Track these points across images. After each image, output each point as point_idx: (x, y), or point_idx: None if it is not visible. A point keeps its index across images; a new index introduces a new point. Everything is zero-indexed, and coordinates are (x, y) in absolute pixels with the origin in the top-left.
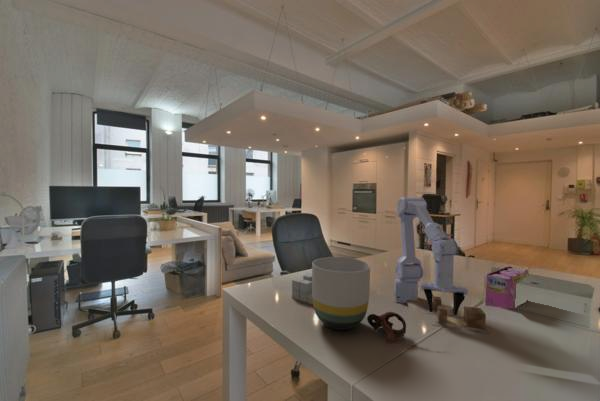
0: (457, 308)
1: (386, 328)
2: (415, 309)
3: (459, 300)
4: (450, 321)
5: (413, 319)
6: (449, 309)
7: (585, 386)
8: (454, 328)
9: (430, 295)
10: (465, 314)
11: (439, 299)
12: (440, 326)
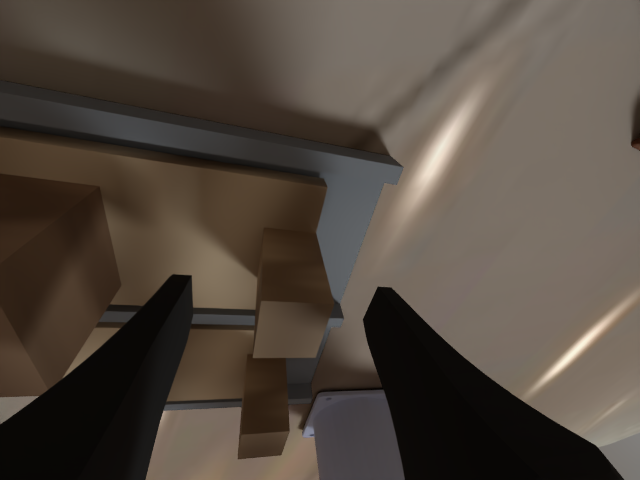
0: (136, 325)
1: None
2: (356, 356)
3: (17, 467)
4: (228, 252)
5: (425, 267)
6: (188, 383)
7: None
8: (231, 142)
9: (549, 456)
10: (74, 303)
11: (254, 436)
12: (340, 161)
